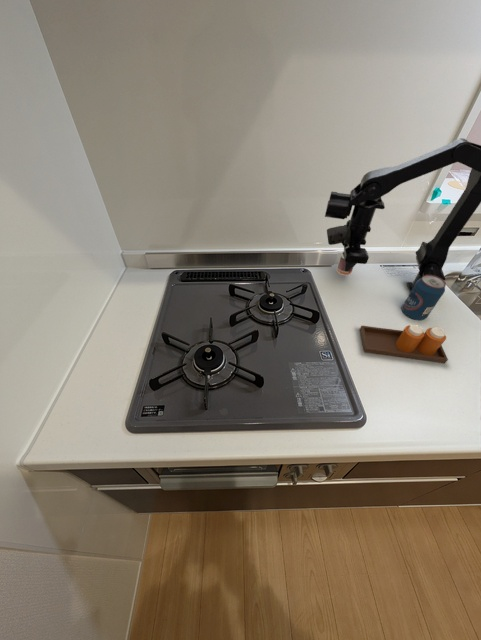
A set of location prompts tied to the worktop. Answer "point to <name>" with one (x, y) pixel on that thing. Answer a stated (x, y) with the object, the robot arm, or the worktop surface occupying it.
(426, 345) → the amber bottle back
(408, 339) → the amber bottle middle
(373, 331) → the tray
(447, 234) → the robot arm
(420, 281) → the soda can
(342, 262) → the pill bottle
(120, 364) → the worktop surface
